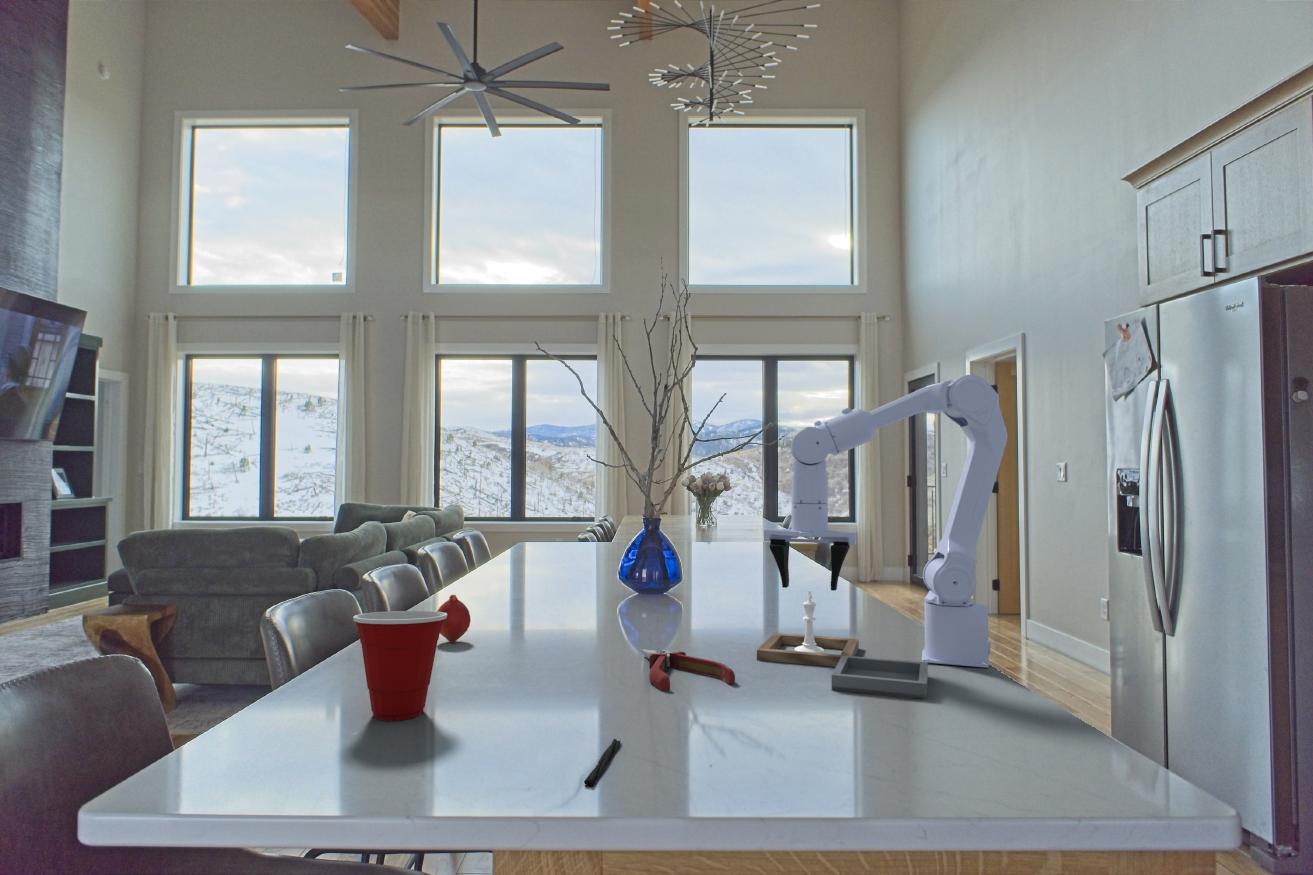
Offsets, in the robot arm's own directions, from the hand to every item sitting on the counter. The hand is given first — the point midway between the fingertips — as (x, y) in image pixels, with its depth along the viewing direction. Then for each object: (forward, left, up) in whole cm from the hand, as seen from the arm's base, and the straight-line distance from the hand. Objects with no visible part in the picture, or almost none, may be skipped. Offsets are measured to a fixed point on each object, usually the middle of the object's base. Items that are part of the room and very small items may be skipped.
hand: (809, 588), depth 127 cm
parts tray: (-12, +14, -10) cm, 21 cm away
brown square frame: (0, 0, -10) cm, 10 cm away
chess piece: (0, 0, -11) cm, 11 cm away
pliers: (+15, +18, -11) cm, 26 cm away
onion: (+57, +14, -11) cm, 60 cm away
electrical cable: (+12, +55, -11) cm, 57 cm away
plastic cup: (+41, +49, -11) cm, 65 cm away
